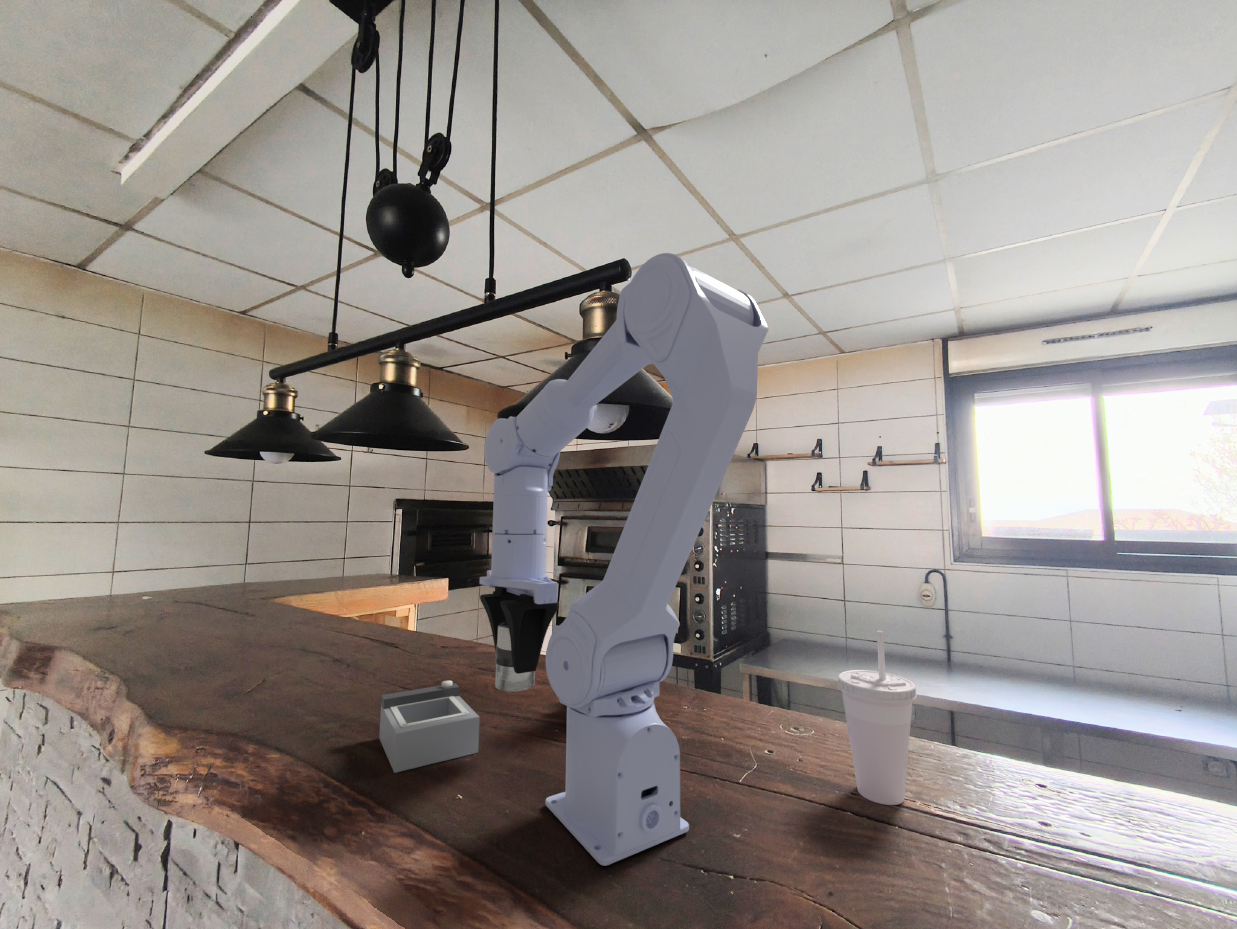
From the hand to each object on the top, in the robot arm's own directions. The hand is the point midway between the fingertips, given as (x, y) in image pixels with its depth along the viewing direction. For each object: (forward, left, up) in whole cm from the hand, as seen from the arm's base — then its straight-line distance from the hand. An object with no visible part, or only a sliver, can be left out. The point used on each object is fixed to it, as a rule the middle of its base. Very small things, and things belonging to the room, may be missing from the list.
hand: (516, 665), depth 53 cm
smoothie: (-24, -24, -9) cm, 36 cm away
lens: (0, 0, -2) cm, 2 cm away
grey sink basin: (+7, +7, -9) cm, 13 cm away
